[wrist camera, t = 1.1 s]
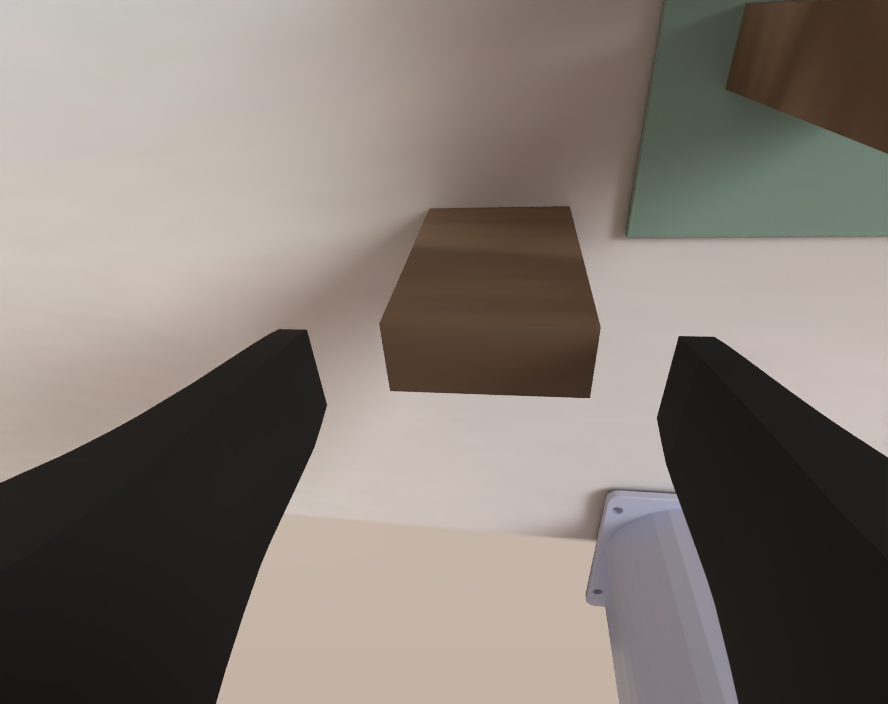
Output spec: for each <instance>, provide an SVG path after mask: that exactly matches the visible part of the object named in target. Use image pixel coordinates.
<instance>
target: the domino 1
mask: <svg viewBox="0 0 888 704" xmlns="http://www.w3.org/2000/svg"><path fill="white" fill-rule="evenodd" d="M379 325H380V331H381V337H382V343H383V350H384V356H385V362H386V368H387V374H388V381H389V387H390V391H406V392H434V393H461V394H489V395H517V396H544V397H572V398H590V394H591V387H592V381H593V374H594V368H595V361H596V354H597V348H598V341H599V335H600V328H601V327H600V323H599V319H598V315H597V311H596V307H595V304H594V300H593V296H592V292H591V288H590V284H589V280H588V276H587V272H586V268H585V265H584V261H583V257H582V253H581V249H580V245H579V241H578V237H577V233H576V229H575V226H574V222H573V218H572V214H571V210H570V206H559V207H499V208H438V209H429V212H428V214H427V216H426V219H425V221H424V223H423V225H422V228H421V230H420V232H419V234H418V237H417V239H416V241H415V244H414V246H413V248H412V250H411V253H410V255H409V257H408V260H407V262H406V264H405V266H404V269H403V271H402V273H401V275H400V278H399V280H398V282H397V285H396V287H395V289H394V291H393V294H392V296H391V298H390V301H389V303H388V305H387V307H386V310H385V312H384V314H383V316H382V319H381V321H380V323H379Z"/></svg>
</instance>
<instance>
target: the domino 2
mask: <svg viewBox="0 0 888 704" xmlns="http://www.w3.org/2000/svg"><path fill="white" fill-rule="evenodd" d="M725 89H726V90H728V91H731V92H733V93H736V94H738V95H741V96H743V97H746V98H748V99H751V100H753V101H756V102H758V103H761V104H763V105H766V106H768V107H771V108H773V109H776V110H778V111H781V112H784V113H786V114H789V115H791V116H794V117H796V118H799V119H801V120H804V121H806V122H809V123H811V124H814V125H816V126H819V127H821V128H824V129H826V130H829V131H831V132H834V133H836V134H839V135H841V136H844V137H847V138H849V139H852V140H854V141H857V142H859V143H862V144H864V145H867V146H869V147H872V148H874V149H877V150H879V151H882V152H884V153H887V154H888V0H784V1H770V2H755V3H746V6H745V10H744V14H743V18H742V22H741V26H740V30H739V34H738V38H737V42H736V46H735V51H734V55H733V59H732V63H731V67H730V71H729V75H728V79H727V83H726V87H725Z"/></svg>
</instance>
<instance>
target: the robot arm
mask: <svg viewBox="0 0 888 704" xmlns="http://www.w3.org/2000/svg"><path fill="white" fill-rule="evenodd" d="M326 407H327V403H326V400H325V396H324V392H323V388H322V385H321V381H320V377H319V373H318V370H317V366H316V362H315V358H314V355H313V351H312V347H311V344H310V340H309V336H308V332H307V330H292V329H278V330H276V331H275V332H273V333H271V334H269V335H267V336H265V337H264V338H262V339H260V340H259V341H257V342H256V343H254V344H252V345H251V346H249V347H248V348H246V349H245V350H243V351H242V352H240V353H238V354H237V355H235V356H234V357H232V358H231V359H229V360H228V361H226V362H225V363H223V364H222V365H220V366H218V367H217V368H215V369H214V370H212V371H211V372H209V373H208V374H206V375H204V376H203V377H201V378H200V379H198V380H197V381H195V382H194V383H192V384H191V385H189V386H187V387H186V388H184V389H182V390H181V391H179V392H177V393H176V394H174V395H172V396H171V397H169V398H167V399H166V400H164V401H162V402H161V403H159V404H157V405H156V406H154V407H152V408H151V409H149V410H147V411H146V412H144V413H142V414H141V415H139V416H137V417H135V418H134V419H132V420H130V421H128V422H126V423H125V424H123V425H121V426H119V427H117V428H115V429H114V430H112V431H110V432H108V433H106V434H104V435H102V436H100V437H98V438H96V439H94V440H92V441H90V442H88V443H86V444H84V445H82V446H80V447H78V448H76V449H74V450H72V451H70V452H68V453H66V454H64V455H62V456H60V457H58V458H56V459H53V460H51V461H49V462H47V463H44V464H42V465H40V466H38V467H35V468H33V469H31V470H28V471H26V472H24V473H22V474H19V475H17V476H15V477H13V478H10V479H8V480H6V481H4V482H1V483H0V704H216V701H217V698H218V694H219V691H220V688H221V684H222V680H223V677H224V674H225V670H226V667H227V664H228V661H229V658H230V655H231V651H232V648H233V645H234V642H235V639H236V636H237V633H238V630H239V626H240V623H241V620H242V617H243V614H244V611H245V608H246V606H247V603H248V600H249V597H250V594H251V591H252V588H253V585H254V583H255V580H256V577H257V574H258V571H259V568H260V566H261V563H262V561H263V558H264V556H265V554H266V551H267V549H268V546H269V544H270V542H271V540H272V537H273V535H274V533H275V531H276V529H277V527H278V525H279V522H280V520H281V518H282V516H283V514H284V512H285V510H286V508H287V505H288V503H289V501H290V499H291V497H292V495H293V493H294V491H295V488H296V486H297V484H298V482H299V480H300V478H301V476H302V473H303V471H304V469H305V467H306V465H307V462H308V460H309V458H310V456H311V454H312V451H313V449H314V447H315V443H316V440H317V437H318V434H319V431H320V428H321V424H322V421H323V417H324V414H325V410H326ZM657 421H658V426H659V432H660V437H661V442H662V447H663V452H664V456H665V461H666V465H667V468H668V471H669V474H670V477H671V480H672V483H673V486H674V489H675V491H676V494H671V493H655V492H638V491H622V490H616V491H612V492H610V493H609V494H607V496H606V500H605V505H604V509H603V514H602V519H601V524H600V528H599V533H598V538H597V543H596V547H595V552H594V557H593V562H592V566H591V571H590V576H589V581H588V585H587V590H586V601H587V602H588V603H589V604H590V605H594V606H605V608H606V615H607V621H608V629H609V636H610V643H611V649H612V656H613V663H614V670H615V677H616V684H617V690H618V698H619V704H888V457H886V456H885V455H883V454H881V453H880V452H878V451H877V450H875V449H874V448H872V447H871V446H869V445H868V444H866V443H865V442H863V441H861V440H860V439H858V438H857V437H855V436H854V435H852V434H851V433H849V432H848V431H846V430H845V429H843V428H842V427H840V426H839V425H837V424H836V423H834V422H833V421H831V420H830V419H828V418H827V417H826V416H824V415H823V414H821V413H820V412H818V411H817V410H815V409H814V408H813V407H811V406H810V405H808V404H807V403H806V402H804V401H803V400H801V399H800V398H799V397H797V396H796V395H794V394H793V393H792V392H790V391H789V390H788V389H786V388H785V387H783V386H782V385H781V384H779V383H778V382H777V381H775V380H774V379H773V378H771V377H770V376H769V375H767V374H766V373H765V372H763V371H762V370H760V369H759V368H758V367H756V366H755V365H754V364H752V363H751V362H750V361H748V360H747V359H746V358H744V357H743V356H742V355H740V354H739V353H737V352H736V351H735V350H733V349H732V348H730V347H729V346H728V345H726V344H725V343H723V342H722V341H720V340H719V339H717V338H715V337H695V336H679V338H678V341H677V345H676V349H675V353H674V356H673V360H672V364H671V367H670V371H669V375H668V379H667V382H666V386H665V390H664V394H663V397H662V401H661V405H660V408H659V412H658V416H657Z"/></svg>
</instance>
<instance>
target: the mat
mask: <svg viewBox="0 0 888 704" xmlns="http://www.w3.org/2000/svg"><path fill="white" fill-rule="evenodd" d="M770 1H784V0H664V5H663V11H662V17H661V23H660V29H659V35H658V41H657V47H656V53H655V59H654V65H653V71H652V77H651V83H650V89H649V95H648V101H647V107H646V114H645V120H644V126H643V132H642V138H641V144H640V150H639V156H638V162H637V168H636V174H635V180H634V186H633V192H632V198H631V204H630V210H629V216H628V222H627V228H626V236H627V238H652V237H779V236H888V154H887V153H884V152H882V151H879V150H877V149H874V148H872V147H869V146H867V145H864V144H862V143H859V142H857V141H854V140H852V139H849V138H847V137H844V136H841V135H839V134H836V133H834V132H831V131H829V130H826V129H824V128H821V127H819V126H816V125H814V124H811V123H809V122H806V121H804V120H801V119H799V118H796V117H794V116H791V115H789V114H786V113H784V112H781V111H778V110H776V109H773V108H771V107H768V106H766V105H763V104H761V103H758V102H756V101H753V100H751V99H748V98H746V97H743V96H741V95H738V94H736V93H733V92H731V91H728V90H726V89H725V87H726V83H727V79H728V75H729V71H730V67H731V63H732V59H733V55H734V51H735V46H736V42H737V38H738V34H739V30H740V26H741V22H742V18H743V14H744V10H745V6H746V3H755V2H770Z"/></svg>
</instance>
